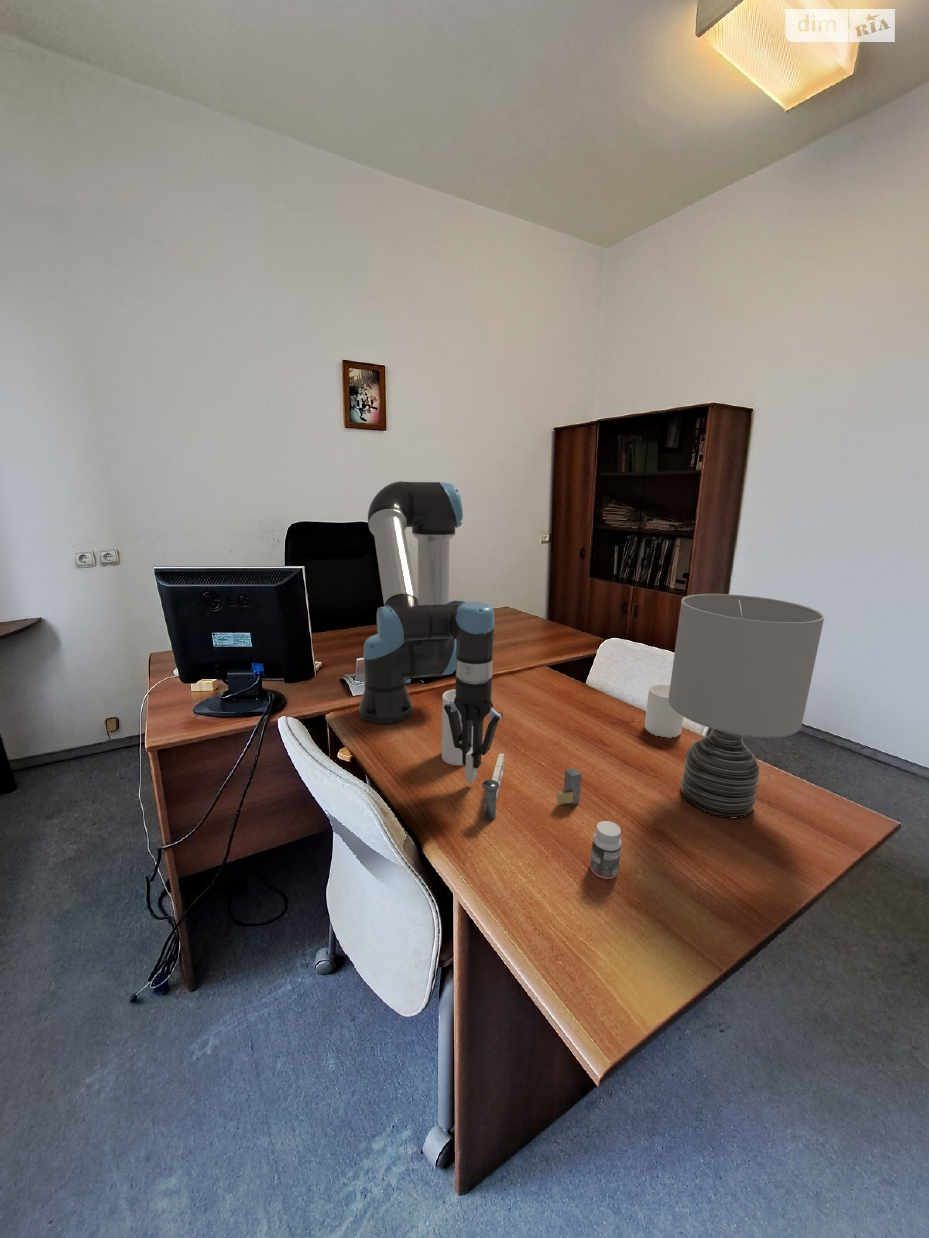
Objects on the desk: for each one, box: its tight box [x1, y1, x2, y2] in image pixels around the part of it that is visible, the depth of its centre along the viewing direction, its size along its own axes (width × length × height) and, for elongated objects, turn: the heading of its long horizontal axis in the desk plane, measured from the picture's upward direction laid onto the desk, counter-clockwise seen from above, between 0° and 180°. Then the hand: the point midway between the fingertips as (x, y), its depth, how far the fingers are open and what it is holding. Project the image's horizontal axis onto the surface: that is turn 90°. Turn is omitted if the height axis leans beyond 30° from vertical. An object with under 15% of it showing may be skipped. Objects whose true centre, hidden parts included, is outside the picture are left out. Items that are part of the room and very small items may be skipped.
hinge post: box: [482, 779, 500, 822], centre depth 99 cm, size 3×3×7 cm
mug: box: [644, 684, 685, 739], centre depth 138 cm, size 10×12×12 cm
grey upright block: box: [556, 768, 582, 807], centre depth 104 cm, size 3×5×7 cm, turn 108°
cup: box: [441, 688, 473, 766], centre depth 121 cm, size 8×8×16 cm
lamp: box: [669, 593, 825, 819], centre depth 102 cm, size 24×24×42 cm
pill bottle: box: [589, 820, 622, 880], centre depth 86 cm, size 5×5×8 cm
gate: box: [491, 753, 505, 800], centre depth 108 cm, size 14×1×5 cm, turn 168°
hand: (471, 778), depth 110 cm, fingers closed
